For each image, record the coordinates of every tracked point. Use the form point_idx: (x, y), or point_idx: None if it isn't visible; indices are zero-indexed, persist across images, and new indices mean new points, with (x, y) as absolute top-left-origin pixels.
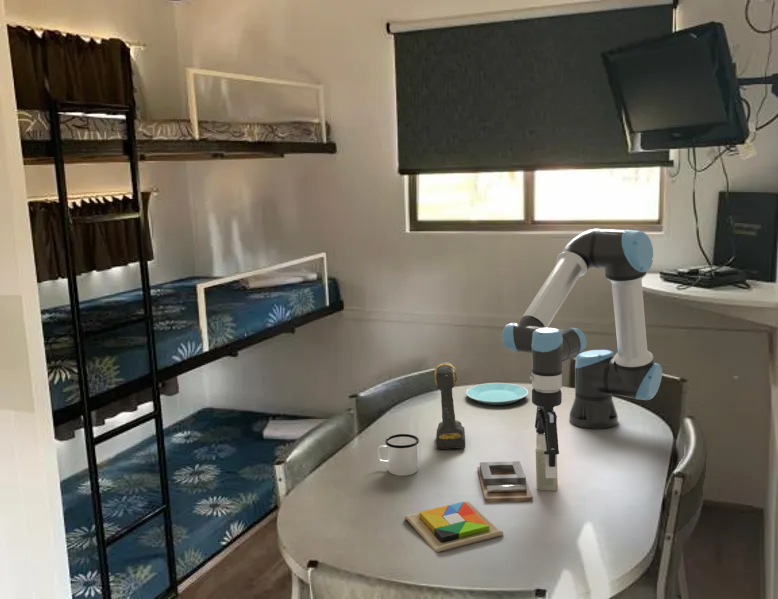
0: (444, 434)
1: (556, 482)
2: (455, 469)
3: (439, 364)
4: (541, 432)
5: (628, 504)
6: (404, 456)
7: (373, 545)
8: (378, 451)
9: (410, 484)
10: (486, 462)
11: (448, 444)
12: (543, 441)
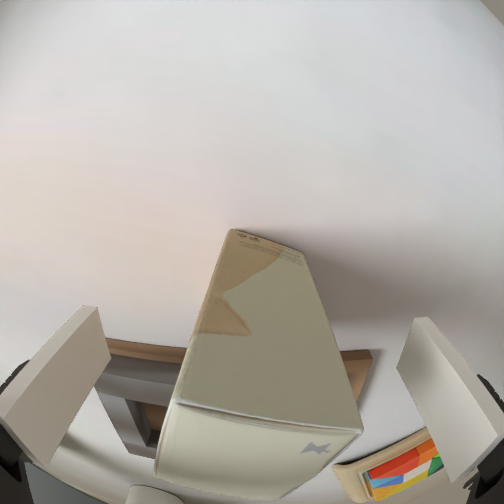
0: None
1: (280, 254)
2: (131, 454)
3: None
4: (6, 444)
5: (436, 15)
6: None
7: (402, 495)
8: None
9: (217, 501)
10: (125, 443)
11: None
12: (46, 399)
